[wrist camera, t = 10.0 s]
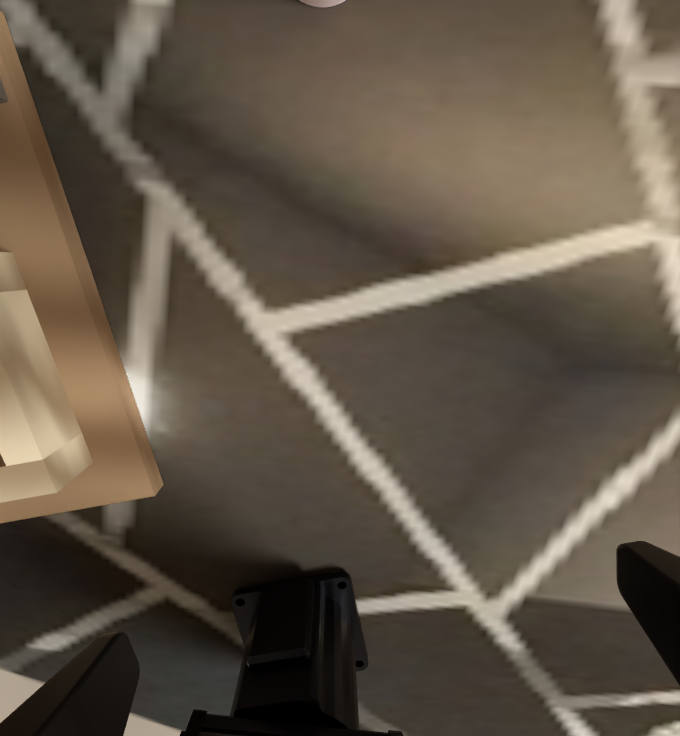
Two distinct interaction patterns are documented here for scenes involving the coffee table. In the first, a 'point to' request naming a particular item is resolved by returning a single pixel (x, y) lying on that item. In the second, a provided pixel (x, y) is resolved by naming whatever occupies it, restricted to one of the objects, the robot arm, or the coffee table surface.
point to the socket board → (55, 339)
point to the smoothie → (322, 2)
